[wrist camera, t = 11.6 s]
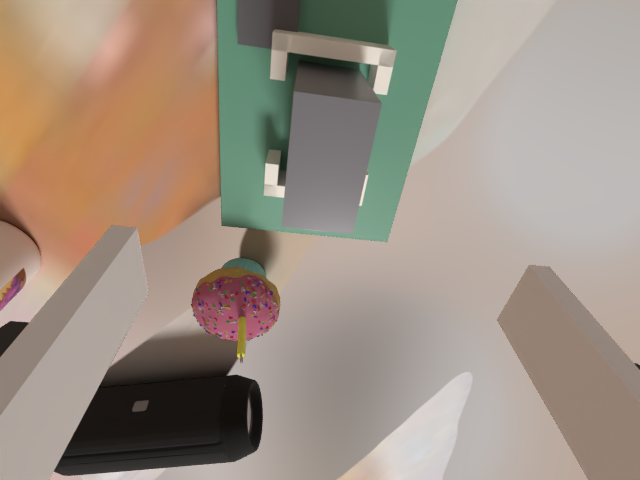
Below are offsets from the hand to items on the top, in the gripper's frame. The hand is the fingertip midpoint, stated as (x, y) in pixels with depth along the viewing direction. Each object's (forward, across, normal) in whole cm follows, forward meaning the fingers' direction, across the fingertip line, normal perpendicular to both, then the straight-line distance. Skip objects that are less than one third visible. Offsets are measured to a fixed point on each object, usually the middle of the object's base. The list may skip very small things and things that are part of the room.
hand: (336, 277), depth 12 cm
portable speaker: (+21, -16, -40) cm, 48 cm away
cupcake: (+21, -6, -18) cm, 28 cm away
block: (+19, 0, 0) cm, 19 cm away
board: (+21, 0, 0) cm, 21 cm away
